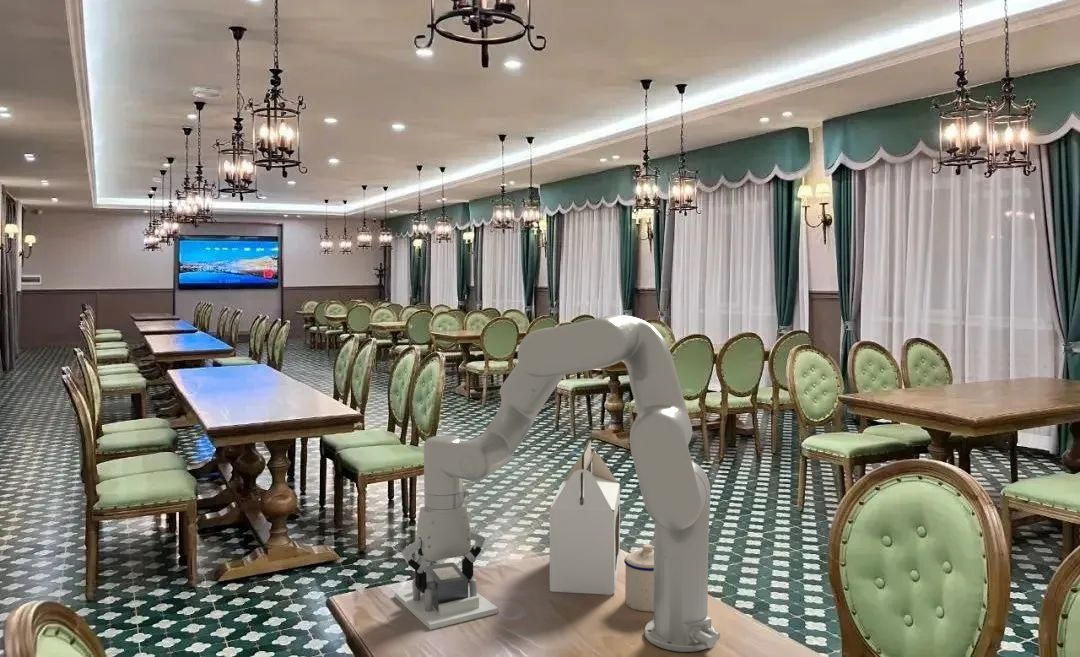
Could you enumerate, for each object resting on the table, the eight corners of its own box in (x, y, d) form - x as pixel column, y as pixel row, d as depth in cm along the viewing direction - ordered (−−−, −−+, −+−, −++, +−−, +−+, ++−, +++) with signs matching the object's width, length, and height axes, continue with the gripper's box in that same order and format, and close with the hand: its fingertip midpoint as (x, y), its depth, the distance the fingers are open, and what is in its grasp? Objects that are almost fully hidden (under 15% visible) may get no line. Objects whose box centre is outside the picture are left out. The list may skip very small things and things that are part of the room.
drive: (468, 607, 154) (468, 578, 153) (438, 612, 152) (437, 583, 151) (452, 587, 163) (452, 560, 163) (424, 592, 161) (423, 565, 161)
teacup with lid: (674, 612, 153) (675, 553, 153) (627, 613, 153) (628, 553, 152) (662, 588, 165) (663, 533, 165) (619, 589, 165) (619, 533, 164)
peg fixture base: (497, 613, 153) (497, 587, 153) (430, 629, 146) (429, 603, 146) (457, 582, 169) (457, 559, 169) (394, 596, 162) (394, 572, 161)
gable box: (614, 596, 162) (614, 459, 160) (549, 592, 164) (549, 457, 162) (619, 558, 184) (620, 437, 182) (562, 555, 186) (562, 435, 184)
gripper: (475, 489, 164) (475, 571, 165) (394, 501, 155) (396, 588, 156) (492, 498, 157) (492, 583, 159) (409, 511, 149) (410, 601, 150)
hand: (444, 585), depth 157 cm, fingers open, 9 cm apart
